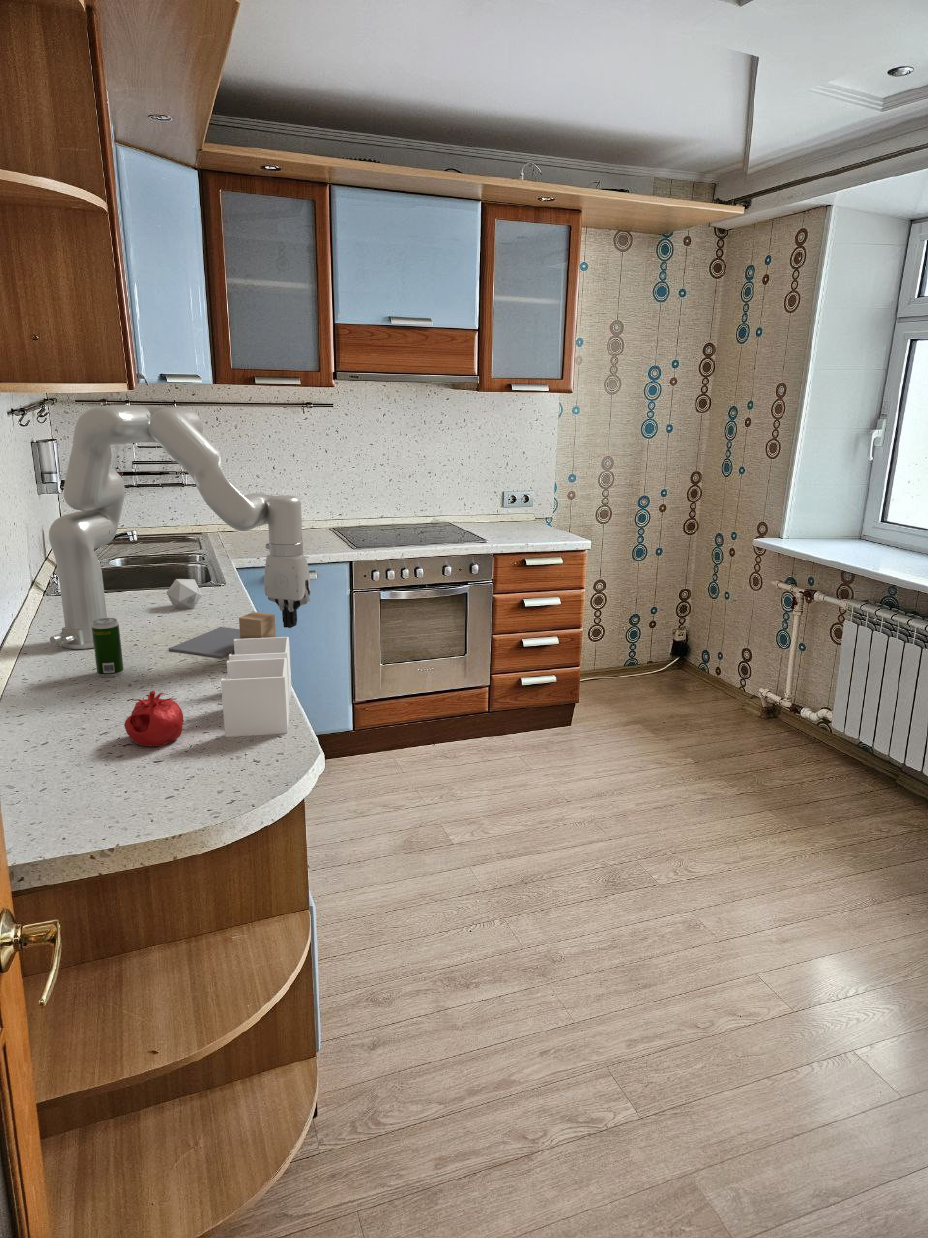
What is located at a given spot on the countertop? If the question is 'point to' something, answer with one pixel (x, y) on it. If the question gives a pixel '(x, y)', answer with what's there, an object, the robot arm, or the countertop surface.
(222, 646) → the mat
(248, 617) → the block
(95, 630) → the beer can
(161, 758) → the countertop surface
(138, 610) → the countertop surface
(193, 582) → the die
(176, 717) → the pomegranate
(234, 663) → the storage container
